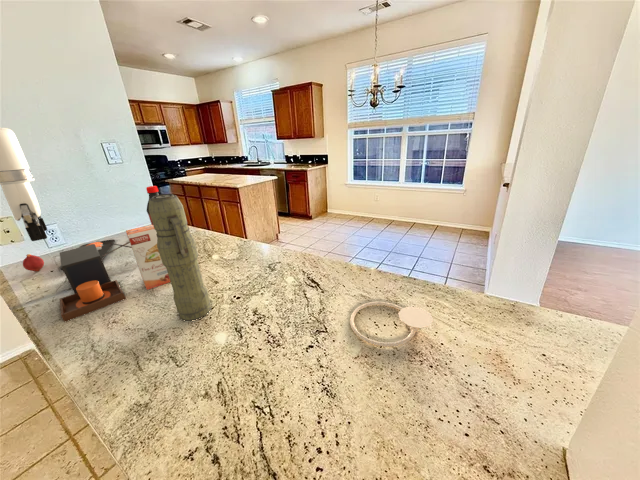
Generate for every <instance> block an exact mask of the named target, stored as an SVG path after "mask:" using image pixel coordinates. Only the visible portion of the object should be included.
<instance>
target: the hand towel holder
mask: <svg viewBox="0 0 640 480" xmlns="http://www.w3.org/2000/svg"><path fill="white" fill-rule="evenodd" d="M372 305H377V306H380V305H385V306H384V307H388V306H390V307H389V308H392V307H394V308H393V309H395V308H396V309H395V310H397V309H398V311H399V310H400V311H399V312H397V314H398V318H399V320H400V321H401V322H402V323H404V324H405V325H406V326H408V327H409V329H410V333H409V334H408V335H407V337H405V338H403V339H401V340H397V341H389V342H388V341H387V342H386V341H385V342H384V341H377V340H374V339H371V338H369V337H367V336H365V335H364V334H362V333H360V332H359V331H358V329H357V327H356V326H355V325H356V324H355V317H356V315H357V313H359V312H360V311H361V310H363V309H365V308H368V307H367V306H369V307H373V306H372ZM359 310H360V311H359ZM433 321H434V318H433V316H432V314H431V312H429V311H427V310H426V309H424V308H422V307H419V306H412V305H410V306H406V307H401V306H399V305H397V304H395V303H391V302H387V301H371V302H370V301H369V302H366V303H364V304H361V305H359V306H357V307H356V308H355V309H354V310H353V312H352V313H351V315H350V319H349V324H350V328H351V329H352V331H353V333H354V334H355V335H356V336H357V337H358V336H359V337H360V338H361V339H360V338H359V337H358V338H359V339H360V340H362V339H363V340H362V341H364V342H365V341H366V342H365V343H367V342H368V343H367V344H370V343H371V344H370V345H373V344H374V345H373V346H376V345H377V346H376V347H381V346H384V347H383V348H393V347H392V346H395V347H399V346H402V345H404V344H406V343H408V342H409V341H411V340H412V338H414V336H415V335H416V333H417V332H418V331H419V330H420V329H423V328H426V327H430V326H431V325H432V324H433ZM398 345H399V346H398Z"/></svg>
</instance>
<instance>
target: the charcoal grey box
mask: <svg viewBox="0 0 640 480" xmlns="http://www.w3.org/2000/svg"><path fill="white" fill-rule="evenodd" d="M79 247H80V246H79ZM79 247H76V248H72V249H68V250H64V251H60V252H59V259H60V266H61V267H62V269H63V270H62V271H63V273H64V275H65V278H66V279H67V281H68V283H69V285H70V287H71V289H72V292H73V294H75V293H78V292H77V290H76V288H77V287H78V286H79V285H81V284H83V283H85V282H89V281H98V282H99V284H100V285H102V284H105V283H108V282H111V281H112V280H111V278H110V276H109V273H108V271H107V268H106V267H105V264H104V261H103V260H102V259H101V257H100V254H99V252H98V250H97V248H96V246H95V244H92V245H88V246H84V247H80V248H79Z"/></svg>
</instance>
